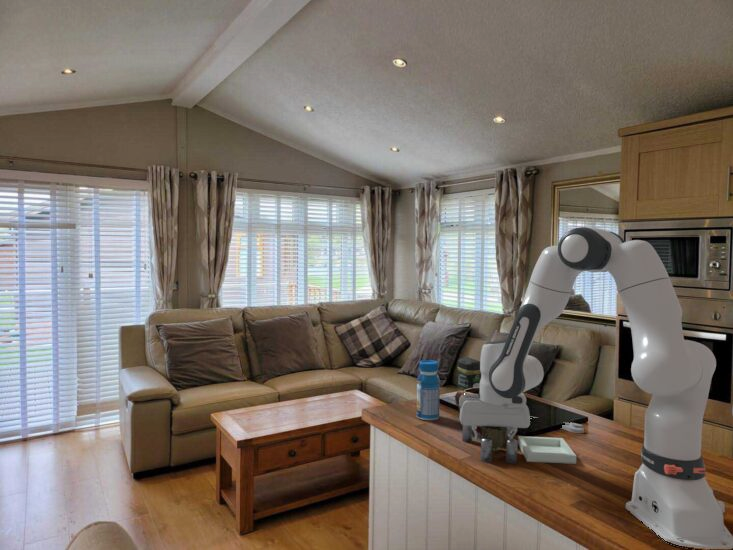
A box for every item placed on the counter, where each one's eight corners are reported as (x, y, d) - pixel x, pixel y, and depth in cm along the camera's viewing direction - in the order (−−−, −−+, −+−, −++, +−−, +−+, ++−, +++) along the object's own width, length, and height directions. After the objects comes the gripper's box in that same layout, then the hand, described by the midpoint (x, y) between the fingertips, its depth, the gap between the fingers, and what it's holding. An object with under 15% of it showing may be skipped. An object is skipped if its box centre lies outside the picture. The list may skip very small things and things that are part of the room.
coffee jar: (453, 404, 195) (454, 356, 194) (469, 401, 198) (470, 355, 197) (468, 411, 186) (469, 361, 185) (485, 408, 190) (486, 360, 189)
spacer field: (521, 463, 140) (522, 442, 140) (467, 460, 142) (467, 440, 141) (510, 441, 157) (511, 422, 157) (462, 438, 159) (462, 420, 158)
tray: (576, 464, 140) (576, 455, 140) (526, 461, 142) (527, 453, 142) (562, 445, 154) (562, 438, 153) (517, 443, 155) (517, 435, 155)
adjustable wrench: (508, 418, 180) (509, 413, 180) (516, 414, 185) (516, 409, 185) (580, 435, 164) (580, 430, 164) (587, 430, 168) (587, 425, 168)
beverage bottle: (429, 422, 173) (430, 365, 172) (411, 416, 179) (411, 361, 178) (444, 417, 179) (445, 362, 178) (426, 411, 185) (427, 358, 184)
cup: (507, 456, 145) (507, 429, 144) (481, 454, 146) (481, 427, 146) (505, 447, 152) (505, 421, 152) (480, 445, 154) (481, 419, 153)
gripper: (460, 396, 146) (459, 442, 147) (532, 398, 144) (530, 446, 145) (458, 390, 153) (457, 434, 153) (527, 392, 150) (526, 438, 151)
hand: (493, 440), depth 149 cm, fingers open, 8 cm apart
